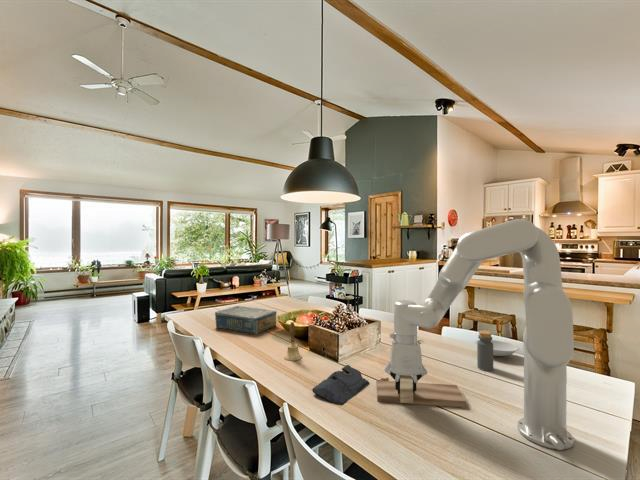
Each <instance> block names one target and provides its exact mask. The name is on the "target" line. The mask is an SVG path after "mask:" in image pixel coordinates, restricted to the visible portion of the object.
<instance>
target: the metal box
mask: <svg viewBox="0 0 640 480" xmlns="http://www.w3.org/2000/svg"><path fill="white" fill-rule="evenodd" d="M277 313H278V312H277V310H271V309H265V308H264V309H262V308H257V307H250V306H249V307H248V306H242V305H237V306H236V305H235V306H233V307H228V308H225V309H221V310H217V311H215V312H214V316H215V318H214V319H215V327H216V328H218V329H221V328H222V330H227V329H228V330H229V331H233V330H234V331H233V332H239V331H240V332H239V333H243V332H246V333H245V334H249V333H251V334H250V335H255V334H257V335H260V334H261V333H264V332H266V331H268V330H270V329H273V328H275V327H277ZM274 326H275V327H274ZM272 327H273V328H272ZM269 328H270V329H269ZM263 331H264V332H263Z"/></svg>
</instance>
